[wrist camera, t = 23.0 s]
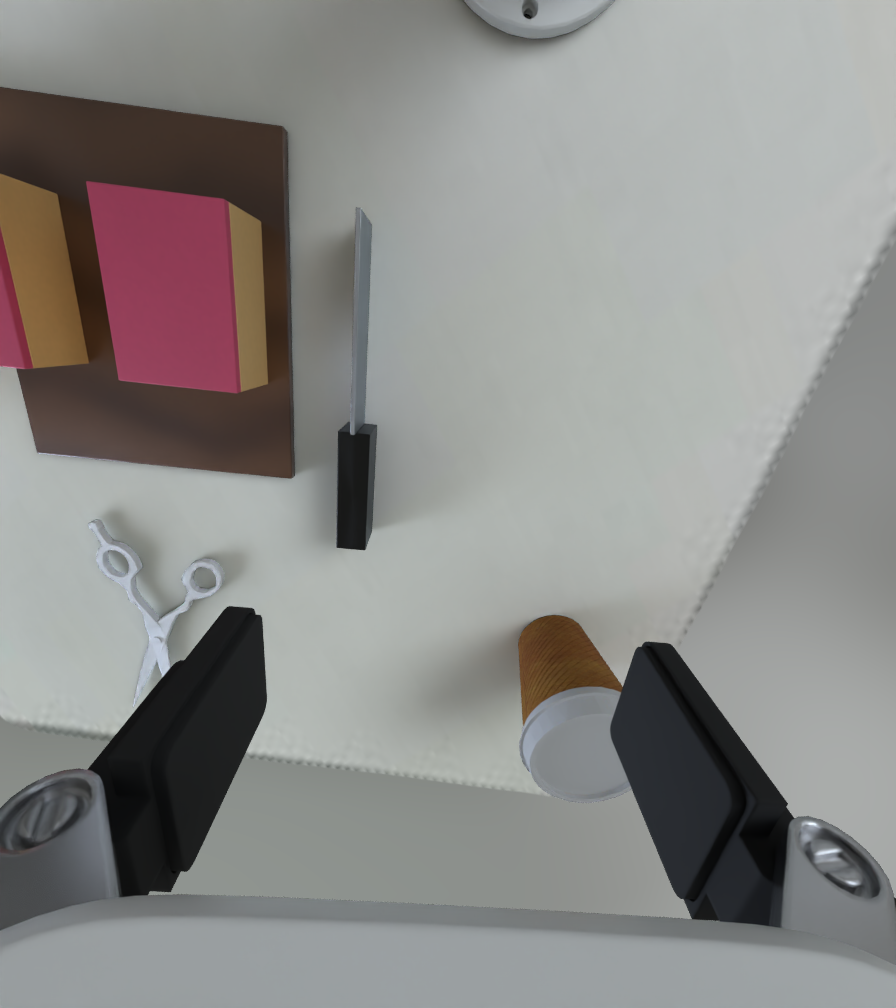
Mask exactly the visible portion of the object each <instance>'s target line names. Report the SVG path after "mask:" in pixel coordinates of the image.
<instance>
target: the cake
mask: <svg viewBox="0 0 896 1008" xmlns="http://www.w3.org/2000/svg"><path fill="white" fill-rule="evenodd" d="M86 185H87V191H88V197H89V203H90V209H91V215H92V221H93V227H94V233H95V239H96V245H97V251H98V257H99V263H100V269H101V275H102V281H103V287H104V293H105V299H106V305H107V312H108V318H109V324H110V330H111V336H112V342H113V348H114V354H115V360H116V366H117V372H118V378H119V380H120V381H129V382H138V383H147V384H156V385H166V386H175V387H184V388H193V389H202V390H212V391H221V392H230V393H239V392H243V391H246V390H249V389H253V388H256V387H260V386H263V385H266V384H268V371H267V348H266V324H265V301H264V277H263V254H262V230H261V221H259V220H258V219H256V218H254V217H253V216H251V215H249V214H248V213H246V212H245V211H243V210H241V209H240V208H238V207H236V206H235V205H233V204H231V203H230V202H228V201H226V200H225V199H221V198H214V197H206V196H198V195H191V194H183V193H175V192H168V191H160V190H152V189H145V188H137V187H129V186H122V185H114V184H106V183H99V182H91V181H86Z"/></svg>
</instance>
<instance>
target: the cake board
mask: <svg viewBox="0 0 896 1008" xmlns="http://www.w3.org/2000/svg"><path fill="white" fill-rule="evenodd" d="M0 174H3V175H6V176H9V177H11V178H14V179H17V180H20V181H23V182H25V183H28V184H31V185H34V186H36V187H39V188H42V189H45V190H48V191H50V192H53V193H56V194H57V195H58V200H59V205H60V211H61V216H62V221H63V227H64V232H65V238H66V243H67V248H68V254H69V259H70V264H71V270H72V275H73V280H74V286H75V291H76V296H77V302H78V307H79V312H80V318H81V323H82V328H83V334H84V339H85V344H86V350H87V355H88V361H89V363H88V364H77V365H66V366H54V367H43V368H31V369H20V368H17V373H18V377H19V381H20V385H21V389H22V393H23V397H24V401H25V405H26V409H27V413H28V417H29V421H30V425H31V429H32V433H33V437H34V441H35V445H36V449H37V453H40V454H50V455H60V456H70V457H80V458H90V459H101V460H111V461H121V462H131V463H141V464H151V465H161V466H171V467H181V468H191V469H201V470H211V471H221V472H231V473H241V474H251V475H261V476H271V477H281V478H293V477H294V476H295V461H294V415H293V370H292V324H291V278H290V233H289V187H288V142H287V131H286V130H285V129H284V127H283V126H277V125H270V124H262V123H255V122H248V121H241V120H234V119H227V118H219V117H212V116H205V115H198V114H191V113H183V112H176V111H169V110H162V109H155V108H147V107H140V106H133V105H126V104H119V103H112V102H104V101H97V100H90V99H83V98H76V97H68V96H61V95H54V94H47V93H40V92H33V91H25V90H18V89H11V88H4V87H0ZM86 181H91V182H99V183H106V184H114V185H122V186H129V187H137V188H145V189H152V190H160V191H168V192H175V193H183V194H191V195H198V196H206V197H214V198H221V199H225V200H226V201H228V202H230V203H231V204H233V205H235V206H236V207H238V208H240V209H241V210H243V211H245V212H246V213H248V214H249V215H251V216H253V217H254V218H256V219H258V220H259V221H261V230H262V254H263V277H264V301H265V324H266V348H267V371H268V384H266V385H263V386H260V387H256V388H253V389H249V390H246V391H243V392H239V393H230V392H221V391H212V390H202V389H193V388H184V387H175V386H166V385H156V384H147V383H138V382H129V381H120V380H119V378H118V372H117V366H116V360H115V354H114V348H113V342H112V336H111V330H110V324H109V318H108V312H107V305H106V299H105V293H104V287H103V281H102V275H101V269H100V263H99V257H98V251H97V245H96V239H95V233H94V227H93V221H92V215H91V209H90V203H89V197H88V191H87V185H86Z"/></svg>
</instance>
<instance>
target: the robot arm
mask: <svg viewBox="0 0 896 1008" xmlns="http://www.w3.org/2000/svg"><path fill="white" fill-rule="evenodd" d="M464 1H465V2H466V4H467V5H468V6H469V7H470V9H471V10H472V11H474V12H475V13H476V14H477V15H479V16H480V17H481V18H482V19H483V20H485V21H486V22H487V23H488V24H490V25H492V26H494V27H496V28H498V29H500V30H502V31H504V32H506V33H508V34H510V35H515V36H520V37H524V38H529V39H535V38H552V37H556V36H559V35H563V34H566V33H569V32H572V31H574V30H576V29H578V28H580V27H581V26H583V25H585V24H587V23H589V22H590V21H592V20H593V19H595V18H596V17H597V16H598V15H599V14H600V13H602V12H603V11H604V10H605V9H606V8H607V7H609V6H610V5H611V4H612V3H613V2H614V0H464ZM525 14H529V15H530V16H531V19H527V18H525V17H524V15H525ZM266 702H267V692H266V675H265V658H264V641H263V624H262V617H261V615H255V611H254V609H253V608H244V607H233V606H229V607H227V608H226V609H225V610H224V611H223V612H222V613H221V615H220V616H219V617H218V618H217V620H216V621H215V622H214V624H213V625H212V626H211V627H210V629H209V630H208V631H207V632H206V634H205V635H204V636H203V637H202V639H201V640H200V641H199V643H198V644H197V645H196V646H195V648H194V649H193V650H192V651H191V653H190V654H189V655H188V656H187V658H186V659H185V660H184V661H183V660H180V661H178V662H176V663H175V664H174V665H173V666H172V667H171V668H170V669H169V670H168V671H167V673H166V674H165V675H164V676H163V677H162V679H161V680H160V681H159V682H158V684H157V685H156V686H155V687H154V688H153V690H152V691H151V692H150V693H149V695H148V696H147V697H146V698H145V700H144V701H143V702H142V703H141V704H140V706H139V707H138V708H137V709H136V711H135V712H134V713H133V714H132V716H131V717H130V718H129V719H128V720H127V722H126V723H125V724H124V725H123V727H122V728H121V729H120V730H119V732H118V733H117V734H116V735H115V736H114V738H113V739H112V740H111V741H110V743H109V744H108V745H107V746H106V748H105V749H104V750H103V751H102V753H101V754H100V755H99V756H98V757H97V759H96V760H95V761H94V762H93V763H92V765H91V766H90V767H89V768H88V770H84V769H72V770H64V771H60V772H57V773H54V774H51V775H48V776H45V777H44V778H42V779H40V780H38V781H36V782H34V783H32V784H30V785H28V786H26V787H25V788H24V789H22V790H21V791H19V792H18V793H17V794H15V795H14V796H13V797H11V798H10V799H9V800H8V801H7V802H6V803H5V804H4V805H3V806H2V807H1V808H0V1008H896V898H894V894H893V890H892V888H891V885H890V882H889V879H888V877H887V876H886V874H885V873H884V871H883V869H882V868H881V866H880V865H879V864H878V863H877V861H876V860H875V859H874V858H873V857H872V856H871V855H870V853H869V852H868V851H867V850H866V849H865V848H863V847H862V846H861V845H860V844H859V843H858V842H857V841H855V840H854V839H853V838H852V837H851V836H849V835H848V834H846V833H845V832H843V831H842V830H840V829H839V828H837V827H835V826H833V825H831V824H829V823H827V822H825V821H823V820H820V819H816V818H813V817H809V816H806V817H805V816H804V817H797V818H795V819H794V817H793V816H792V815H791V813H790V812H789V810H788V809H787V808H786V806H787V804H788V803H787V802H786V801H785V799H784V798H783V796H782V795H781V794H780V792H779V791H778V790H777V788H776V787H775V785H774V784H773V783H772V781H771V780H770V779H769V777H768V776H767V774H766V773H765V772H764V770H763V769H762V768H761V766H760V765H759V764H758V763H757V761H756V759H755V758H754V757H753V756H752V754H751V753H750V751H749V750H748V749H747V747H746V746H745V744H744V743H743V742H742V740H741V739H740V737H739V736H738V735H737V733H736V732H735V731H734V730H733V728H732V727H731V725H730V724H729V722H728V721H727V720H726V718H725V717H724V716H723V714H722V713H721V712H720V710H719V709H718V707H717V706H716V705H715V703H714V702H713V701H712V699H711V698H710V697H709V695H708V694H707V692H706V691H705V690H704V688H703V687H702V685H701V684H700V683H699V681H698V680H697V679H696V677H695V676H694V674H693V673H692V672H691V670H690V669H689V668H688V666H687V665H686V663H685V662H684V661H683V659H682V658H681V657H680V655H679V654H678V653H677V651H676V650H675V648H674V647H673V646H672V645H671V644H668V643H658V642H645V643H644V644H643V645H642V647H638V648H637V649H636V650H635V653H634V656H633V659H632V662H631V665H630V668H629V671H628V674H627V677H626V680H625V683H624V686H623V689H622V692H621V695H620V698H619V701H618V703H617V706H616V709H615V712H614V715H613V718H612V721H611V725H610V735H611V739H612V742H613V745H614V747H615V749H616V752H617V754H618V757H619V759H620V761H621V764H622V766H623V769H624V771H625V774H626V776H627V778H628V781H629V783H630V786H631V788H632V791H633V793H634V795H635V798H636V800H637V803H638V805H639V807H640V810H641V812H642V815H643V817H644V820H645V822H646V825H647V827H648V829H649V832H650V834H651V837H652V839H653V842H654V844H655V846H656V849H657V851H658V854H659V856H660V859H661V861H662V863H663V866H664V868H665V871H666V873H667V876H668V878H669V880H670V883H671V885H672V888H673V890H674V892H675V893H676V895H677V896H678V897H679V898H681V899H684V901H685V904H686V906H687V908H688V911H689V913H690V915H691V918H692V919H683V918H667V917H650V916H632V915H616V914H599V913H583V912H566V911H548V910H530V909H510V908H493V907H474V906H454V905H434V904H414V903H396V902H373V901H353V900H330V899H329V900H328V899H309V898H288V897H264V896H226V895H188V894H177V895H148V894H149V892H150V891H159V892H160V891H161V892H171V890H172V888H173V886H174V884H175V882H176V880H177V878H178V876H179V874H180V872H181V871H184V872H185V871H188V870H189V869H190V867H191V866H192V865H193V862H194V861H195V859H196V857H197V854H198V852H199V850H200V848H201V846H202V844H203V842H204V840H205V838H206V835H207V833H208V831H209V829H210V827H211V825H212V823H213V820H214V819H215V816H216V814H217V812H218V810H219V808H220V806H221V804H222V802H223V799H224V797H225V795H226V793H227V791H228V789H229V786H230V784H231V782H232V780H233V778H234V776H235V774H236V772H237V770H238V767H239V765H240V763H241V761H242V759H243V757H244V755H245V753H246V751H247V748H248V746H249V744H250V742H251V740H252V738H253V736H254V734H255V731H256V729H257V727H258V725H259V723H260V721H261V719H262V717H263V714H264V711H265V708H266ZM708 920H713V921H708Z"/></svg>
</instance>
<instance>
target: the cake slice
mask: <svg viewBox="0 0 896 1008" xmlns="http://www.w3.org/2000/svg"><path fill="white" fill-rule="evenodd" d="M88 363H89V361H88V355H87V350H86V344H85V339H84V334H83V328H82V323H81V318H80V312H79V307H78V302H77V296H76V291H75V286H74V280H73V275H72V270H71V264H70V259H69V254H68V248H67V243H66V238H65V232H64V227H63V221H62V216H61V211H60V205H59V200H58V195H57V194H56V193H53V192H50V191H48V190H45V189H42V188H39V187H36V186H34V185H31V184H28V183H25V182H23V181H20V180H17V179H14V178H11V177H9V176H6V175H3V174H0V366H2V367H11V368H20V369H31V368H43V367H54V366H66V365H77V364H88Z"/></svg>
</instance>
